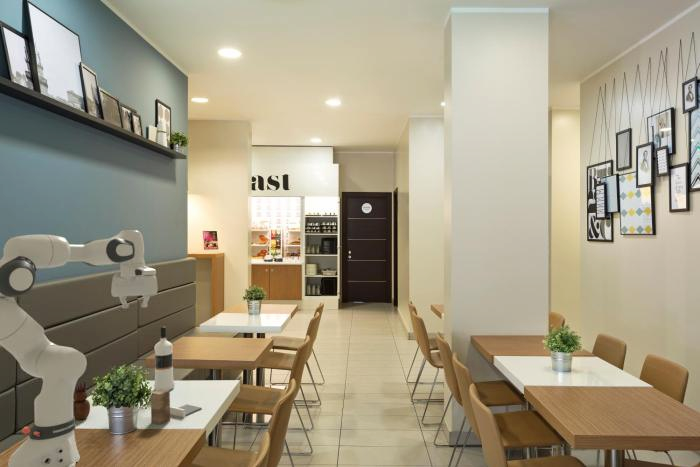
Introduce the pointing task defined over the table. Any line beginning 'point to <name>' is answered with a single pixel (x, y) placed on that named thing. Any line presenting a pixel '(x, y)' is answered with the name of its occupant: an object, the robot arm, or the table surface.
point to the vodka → (163, 363)
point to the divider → (177, 411)
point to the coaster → (190, 409)
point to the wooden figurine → (81, 403)
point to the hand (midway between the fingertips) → (134, 307)
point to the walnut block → (160, 406)
